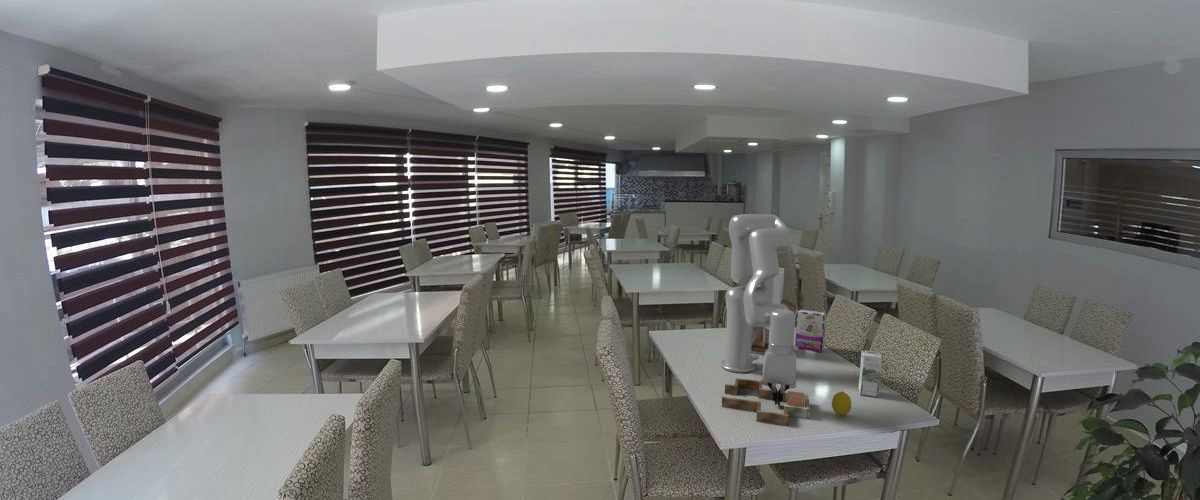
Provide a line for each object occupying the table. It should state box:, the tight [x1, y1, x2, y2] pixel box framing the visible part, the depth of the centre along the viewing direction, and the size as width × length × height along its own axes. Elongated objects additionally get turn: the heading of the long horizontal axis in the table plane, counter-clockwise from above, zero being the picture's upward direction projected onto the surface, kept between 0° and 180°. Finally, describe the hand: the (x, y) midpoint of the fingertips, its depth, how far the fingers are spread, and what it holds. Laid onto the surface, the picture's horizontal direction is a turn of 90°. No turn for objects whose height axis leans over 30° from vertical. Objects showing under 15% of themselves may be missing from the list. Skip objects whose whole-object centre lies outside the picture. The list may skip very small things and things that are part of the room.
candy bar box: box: [794, 309, 827, 354], centre depth 234 cm, size 11×5×16 cm, turn 58°
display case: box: [751, 267, 785, 356], centre depth 229 cm, size 11×11×35 cm
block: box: [786, 390, 805, 407], centre depth 175 cm, size 5×5×5 cm
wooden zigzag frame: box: [721, 377, 811, 426], centre depth 178 cm, size 26×26×3 cm
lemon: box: [831, 391, 852, 417], centre depth 170 cm, size 6×6×8 cm
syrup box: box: [857, 349, 883, 398], centre depth 188 cm, size 6×6×14 cm
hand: (777, 403), depth 177 cm, fingers closed
